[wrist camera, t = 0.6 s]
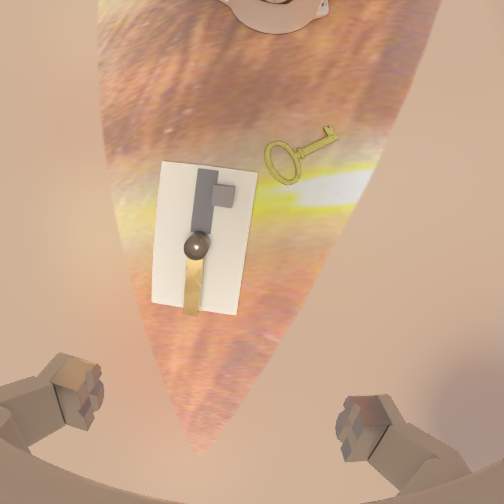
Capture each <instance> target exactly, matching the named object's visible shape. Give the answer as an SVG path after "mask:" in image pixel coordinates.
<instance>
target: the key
mask: <svg viewBox="0 0 504 504" xmlns="http://www.w3.org/2000/svg"><path fill="white" fill-rule="evenodd" d="M324 129H325V131H326V133H327V135H328V136H327V137H325V138H323V139H321V140H319V141H317V142H315V143H313V144H310V145H308V146H306V147H304V148H302V149H301V148H297V152H295V153H294V151H293V150H292V148H291V147H290V146H289V145H287V144H286V143H284V142H281V141H274V142H271V143H270V144H268V146H267V147H266V149H265V154H264V158H265V163H266V166H267V168H268V170H269V172H270V173H271V175H272V176H273V177H274V178H275V179H276V180H277V181H278V182H280V183H282V184H285V185H291V184H294V183H295V182H297V181H298V179H299V178H300V175H301V167H300V163H299V160H298V159H300V158H302V159H305V156H306V155H308V154H310V153H312V152H314V151H316V150H318V149H320V148H322V147H324V146H326V145H328V144H330V143H332V142H334V141H336V140H338V136H337V134H336V133H334V131H333V129H332V127H331V125H329V128H328V127H324ZM276 145H279V146H282V147H283V148H285V149H286V150H287V151H288V153H289V154H290V155H291V157H292V159H293V161H294V163H295V167H296V176H295V177H294V178H293V179H292V180H287V179H285V178H283V177H282V176H281V175H280V174H279V173H278V172H277V171H276V169H275V168H274V166H273V163H272V160H271V149H272V147H273V146H276Z"/></svg>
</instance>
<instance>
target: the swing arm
mask: <svg viewBox="0 0 504 504" xmlns="http://www.w3.org/2000/svg"><path fill="white" fill-rule="evenodd" d="M209 247H210V238H209V236H208V235H207V234H206V233H204V232H201V231H196V232H194V233H192V234H191V235H190V236H189V238H188V239H187V240H186V242H185V243H184V253H185V255H186V256H187V267H186V278H185V291H184V305H183V314H184V315H190V316H198V313H199V310H200V301H201V290H202V281H203V271H204V262H205V256H206V254H207V252H208V250H209Z"/></svg>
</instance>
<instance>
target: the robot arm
mask: <svg viewBox="0 0 504 504" xmlns="http://www.w3.org/2000/svg"><path fill="white" fill-rule="evenodd" d="M220 1H221V2H223V3H224V4H226V5H228V6H229V7H230V8H231V10H232V11H233V13H234V15H235V16H236V17H237V18H238V19H239V20H240V21H241V22H242V23H243V24H245V25H246V26H248V27H250V28H252V29H254V30H257V31H260V32H264V33H270V34H284V33H290V32H293V31H296V30H299V29H301V28H302V27H304V26H306V25H307V24H308V23H309V22H310V21H312V20H314V19H317V18H321V17H324V16H326V15H327V14H328V12H329V6H328V0H220ZM321 5H323V6H321ZM101 374H102V373H101V367H100V366H99V365H98V364H96V363H93V362H90V361H86V360H83V359H80V358H77V357H74V356H70V355H67V354H64V353H58V354H57V355H56V356H55V357H54V358H53V359H52V360H51V362H50V363H49V364H48V365H47V366H46V367H45V368H44V370H42V372H41V373H40V374H39V375H38V376H37V377H34V376H32V377H29V378H26V379H23V380H19V381H16V382H13V383H10V384H6V385H3V386H0V504H184V503H178V502H173V501H168V500H163V499H158V498H153V497H148V496H144V495H140V494H136V493H132V492H128V491H125V490H122V489H118V488H114V487H111V486H108V485H105V484H102V483H99V482H96V481H93V480H90V479H87V478H84V477H82V476H79V475H77V474H74V473H71V472H69V471H66V470H64V469H62V468H59V467H57V466H55V465H52V464H50V463H48V462H46V461H44V460H42V459H39V458H37V457H35V456H33V455H32V454H31V452H30V450H29V449H28V446H30V445H32V444H34V443H36V442H38V441H39V440H41V439H43V438H45V437H46V436H48V435H49V434H51V433H53V432H55V431H57V430H58V429H60V428H62V427H63V426H65V424H67V425H70V426H73V427H76V428H79V429H82V430H85V431H88V430H89V428H90V426H91V424H92V422H93V420H94V414H93V412H95V411H97V410H99V409H100V407H101V405H102V402H103V398H104V387H103V383H102V382H101V381H100V380H99V378H100V376H101ZM343 405H344V408H345V410H344V411H342V412H341V413H340V414H339V415H338V418H337V421H336V427H335V429H336V435H337V439H338V440H340V441H341V442H342V443H343V444H342V447H341V451H342V454H343V457H344V460H345V462H356V461H368V463H369V464H371V465H372V466H373V467H374V468H375V469H376V470H377V471H378V472H379V473H381V475H383V476H384V477H385V478H386V479H387V480H388V481H389V482H390V483H392V484H393V485H394V486H395V487H396V488H397V489H398V490H399V491H400V492H399V493H398V494H397V495H396V496H395V497H393V498H389V499H384V500H378V501H373V502H368V503H362V504H504V459H502V460H500V461H498V462H496V463H493V464H491V465H489V466H487V467H484V468H482V469H480V470H477V471H475V472H473V473H472V472H471V471H470V469H469V467H468V466H467V464H466V463H465V461H464V459H463V458H462V456H461V455H460V453H459V452H458V451H457V450H455V449H454V448H452V447H450V446H449V445H447V444H445V443H443V442H441V441H440V440H438V439H436V438H434V437H433V436H431V435H429V434H428V433H426V432H424V431H422V430H421V429H419V428H417V427H416V426H414V425H412V424H410V423H406V422H405V420H404V419H403V417H402V415H401V413H400V412H399V410H398V408H397V407H396V405H395V403H394V402H393V400H392V398H391V397H390V396H389V395H388V394H382V395H369V396H348V397H347V398H346V400H345V402H344V404H343Z"/></svg>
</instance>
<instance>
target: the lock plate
mask: <svg viewBox="0 0 504 504" xmlns="http://www.w3.org/2000/svg"><path fill="white" fill-rule="evenodd" d="M257 176H258V173H256V172H250V171H243V170H236V169H229V168H221V167H213V166H205V165H196V164H187V163H178V162H168V161H162V165H161V173H160V181H159V191H158V200H157V211H156V223H155V236H154V252H153V271H152V302H154V303H159V304H165V305H171V306H177V307H183V305H184V291H185V278H186V267H187V256H186V255H185V253H184V243H185V242H186V240H187V239H188V238H189V236H190V235H191V234H192V233H194V232H196V231H201V232H204V233H206V234H207V235H208V236H209V238H210V247H209V250H208V252H207V254H206V256H205V262H204V271H203V281H202V290H201V301H200V310H203V311H209V312H216V313H223V314H230V315H236V313H237V307H238V300H239V293H240V287H241V280H242V274H243V267H244V260H245V254H246V247H247V241H248V234H249V228H250V221H251V215H252V208H253V202H254V195H255V189H256V183H257Z"/></svg>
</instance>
